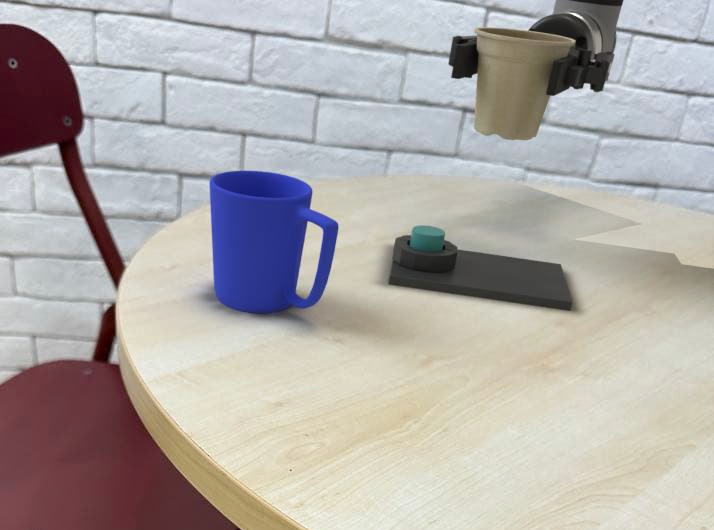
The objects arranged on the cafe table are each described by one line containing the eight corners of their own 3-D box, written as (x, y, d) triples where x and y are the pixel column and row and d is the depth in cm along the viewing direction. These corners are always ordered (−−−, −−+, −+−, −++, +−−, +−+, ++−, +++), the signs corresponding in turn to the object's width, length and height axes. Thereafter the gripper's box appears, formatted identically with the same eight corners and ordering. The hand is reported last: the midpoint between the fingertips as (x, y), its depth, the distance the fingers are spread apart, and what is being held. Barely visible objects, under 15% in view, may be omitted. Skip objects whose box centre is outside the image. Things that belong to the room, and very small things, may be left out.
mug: (287, 348, 67) (299, 218, 61) (186, 299, 73) (187, 177, 67) (354, 325, 72) (370, 203, 66) (254, 281, 78) (261, 165, 72)
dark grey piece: (557, 277, 87) (565, 248, 86) (568, 316, 78) (578, 285, 77) (393, 253, 88) (398, 224, 86) (386, 290, 79) (391, 258, 78)
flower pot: (437, 125, 84) (454, 25, 79) (496, 121, 90) (516, 26, 84) (511, 148, 79) (534, 42, 74) (569, 142, 84) (595, 42, 79)
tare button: (442, 246, 83) (445, 227, 82) (441, 256, 81) (445, 237, 80) (410, 241, 83) (413, 223, 82) (408, 251, 81) (411, 232, 80)
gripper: (645, 106, 93) (608, 136, 76) (462, 74, 100) (391, 95, 83) (668, 27, 89) (635, 40, 72) (476, -1, 95) (404, 5, 78)
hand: (505, 70), depth 77 cm, fingers closed on flower pot, 8 cm apart
